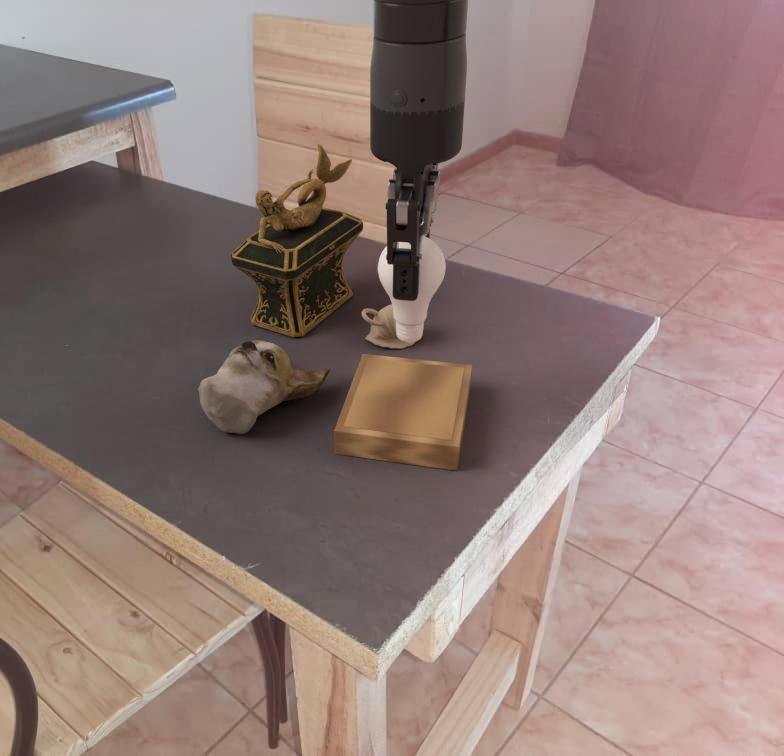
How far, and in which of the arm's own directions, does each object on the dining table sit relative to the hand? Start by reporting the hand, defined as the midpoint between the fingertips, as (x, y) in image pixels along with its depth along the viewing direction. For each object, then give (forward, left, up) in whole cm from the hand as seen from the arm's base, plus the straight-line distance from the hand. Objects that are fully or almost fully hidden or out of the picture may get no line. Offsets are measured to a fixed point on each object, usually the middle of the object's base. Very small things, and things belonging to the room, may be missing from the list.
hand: (411, 280), depth 72 cm
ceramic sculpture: (+16, +1, -17) cm, 23 cm away
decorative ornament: (+4, -15, -17) cm, 23 cm away
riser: (0, 0, -16) cm, 16 cm away
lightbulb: (0, 0, -7) cm, 7 cm away
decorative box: (+16, -22, -17) cm, 32 cm away
